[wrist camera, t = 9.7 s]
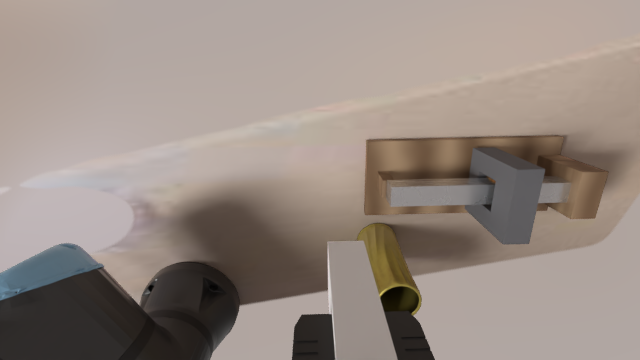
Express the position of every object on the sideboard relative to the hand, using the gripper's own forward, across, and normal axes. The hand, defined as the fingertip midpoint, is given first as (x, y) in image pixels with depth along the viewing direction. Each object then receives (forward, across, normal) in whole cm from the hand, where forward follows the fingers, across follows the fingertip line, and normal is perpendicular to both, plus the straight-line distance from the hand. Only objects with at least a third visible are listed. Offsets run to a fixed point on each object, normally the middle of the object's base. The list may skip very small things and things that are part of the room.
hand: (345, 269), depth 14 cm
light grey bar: (+27, +19, -7) cm, 34 cm away
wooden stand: (+32, +19, -7) cm, 38 cm away
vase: (+33, +8, -17) cm, 38 cm away
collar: (+30, +22, -7) cm, 38 cm away
